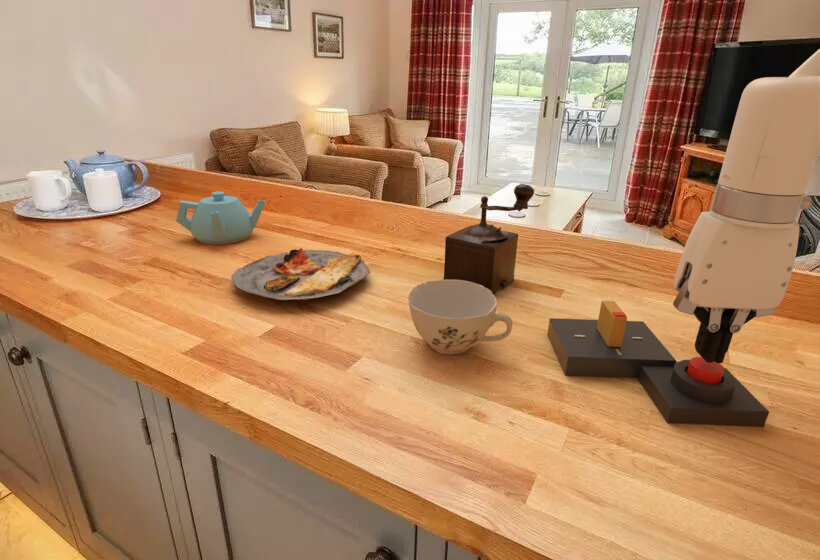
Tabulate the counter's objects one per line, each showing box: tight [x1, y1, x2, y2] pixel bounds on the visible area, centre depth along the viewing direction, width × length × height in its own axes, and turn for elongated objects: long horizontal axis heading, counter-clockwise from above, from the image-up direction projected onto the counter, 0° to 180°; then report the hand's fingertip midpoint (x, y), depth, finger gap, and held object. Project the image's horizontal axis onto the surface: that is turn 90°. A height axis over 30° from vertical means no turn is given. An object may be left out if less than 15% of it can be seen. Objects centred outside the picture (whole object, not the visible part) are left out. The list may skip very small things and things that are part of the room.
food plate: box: [231, 247, 371, 301], centre depth 92 cm, size 25×23×4 cm
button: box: [687, 356, 725, 384], centre depth 59 cm, size 4×4×2 cm
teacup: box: [407, 279, 513, 355], centre depth 70 cm, size 15×12×8 cm
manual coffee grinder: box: [443, 183, 535, 295], centre depth 93 cm, size 16×11×18 cm
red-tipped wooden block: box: [597, 300, 628, 347], centre depth 68 cm, size 5×2×5 cm, turn 177°
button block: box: [637, 359, 770, 428], centre depth 60 cm, size 11×9×4 cm
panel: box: [546, 317, 677, 380], centre depth 70 cm, size 14×11×3 cm
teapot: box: [175, 191, 266, 246], centre depth 115 cm, size 15×15×11 cm
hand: (708, 356), depth 58 cm, fingers closed
